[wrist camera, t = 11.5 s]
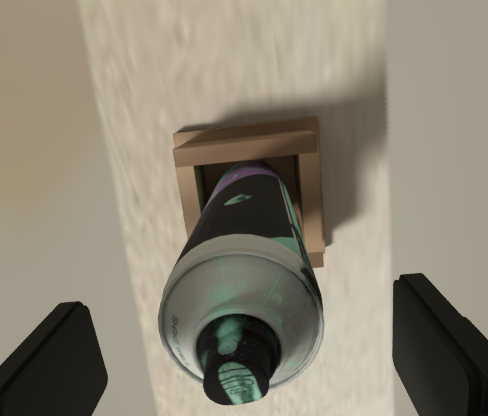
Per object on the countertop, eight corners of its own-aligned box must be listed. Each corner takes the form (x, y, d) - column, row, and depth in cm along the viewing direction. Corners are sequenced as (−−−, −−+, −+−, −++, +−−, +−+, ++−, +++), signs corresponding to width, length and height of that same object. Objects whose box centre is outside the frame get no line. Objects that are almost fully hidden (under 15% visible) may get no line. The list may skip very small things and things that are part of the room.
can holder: (175, 132, 28) (158, 138, 23) (315, 116, 27) (328, 119, 22) (196, 260, 31) (185, 288, 26) (323, 248, 30) (335, 276, 25)
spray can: (248, 144, 27) (224, 242, 8) (300, 191, 28) (393, 384, 9) (203, 195, 28) (85, 388, 9) (253, 239, 29) (244, 499, 10)
